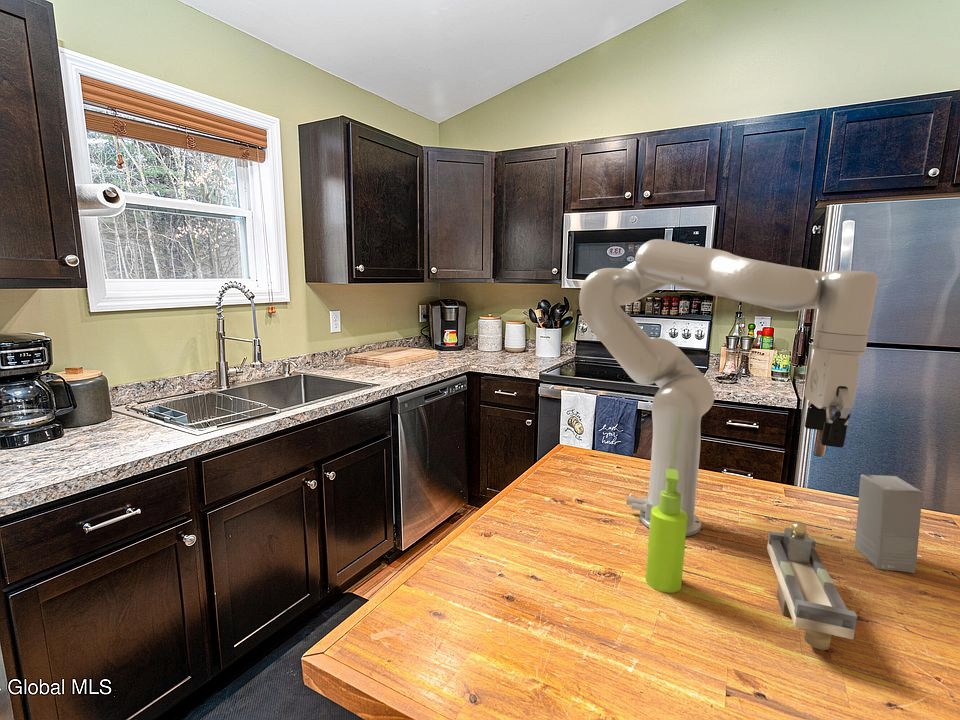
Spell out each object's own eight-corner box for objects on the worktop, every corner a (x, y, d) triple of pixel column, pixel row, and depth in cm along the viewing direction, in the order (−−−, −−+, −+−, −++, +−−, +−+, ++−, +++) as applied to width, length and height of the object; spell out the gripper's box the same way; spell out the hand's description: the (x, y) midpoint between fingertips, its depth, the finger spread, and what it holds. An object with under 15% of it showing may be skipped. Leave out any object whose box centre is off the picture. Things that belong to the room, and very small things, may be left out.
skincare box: (916, 574, 91) (930, 493, 88) (871, 569, 92) (885, 489, 89) (888, 550, 99) (901, 474, 96) (848, 545, 100) (859, 471, 97)
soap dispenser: (680, 573, 90) (689, 468, 87) (682, 595, 83) (692, 483, 80) (646, 566, 92) (653, 463, 88) (645, 588, 85) (653, 478, 82)
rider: (787, 560, 85) (791, 527, 84) (782, 548, 88) (786, 517, 87) (808, 564, 83) (813, 531, 82) (803, 552, 87) (807, 520, 86)
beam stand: (791, 651, 71) (797, 604, 70) (764, 568, 92) (769, 530, 90) (849, 665, 69) (857, 616, 68) (808, 577, 89) (814, 538, 88)
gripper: (800, 335, 95) (786, 420, 98) (830, 348, 79) (812, 449, 82) (846, 338, 93) (830, 426, 96) (887, 352, 77) (866, 457, 80)
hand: (822, 437), depth 89 cm, fingers open, 9 cm apart
